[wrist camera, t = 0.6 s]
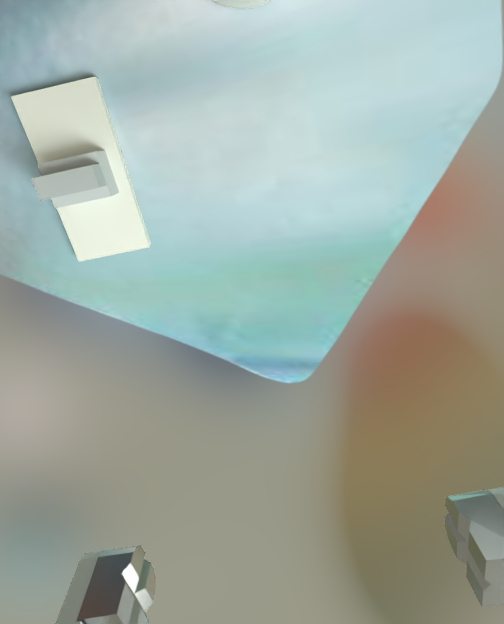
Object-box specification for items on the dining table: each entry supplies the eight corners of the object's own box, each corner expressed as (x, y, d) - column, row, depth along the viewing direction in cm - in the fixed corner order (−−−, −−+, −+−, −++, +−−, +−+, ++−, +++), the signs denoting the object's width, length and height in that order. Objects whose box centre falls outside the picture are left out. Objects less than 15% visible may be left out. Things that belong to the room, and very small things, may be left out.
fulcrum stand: (16, 97, 44) (-22, 90, 38) (97, 78, 43) (72, 67, 37) (82, 259, 52) (59, 275, 46) (151, 244, 52) (138, 259, 45)
